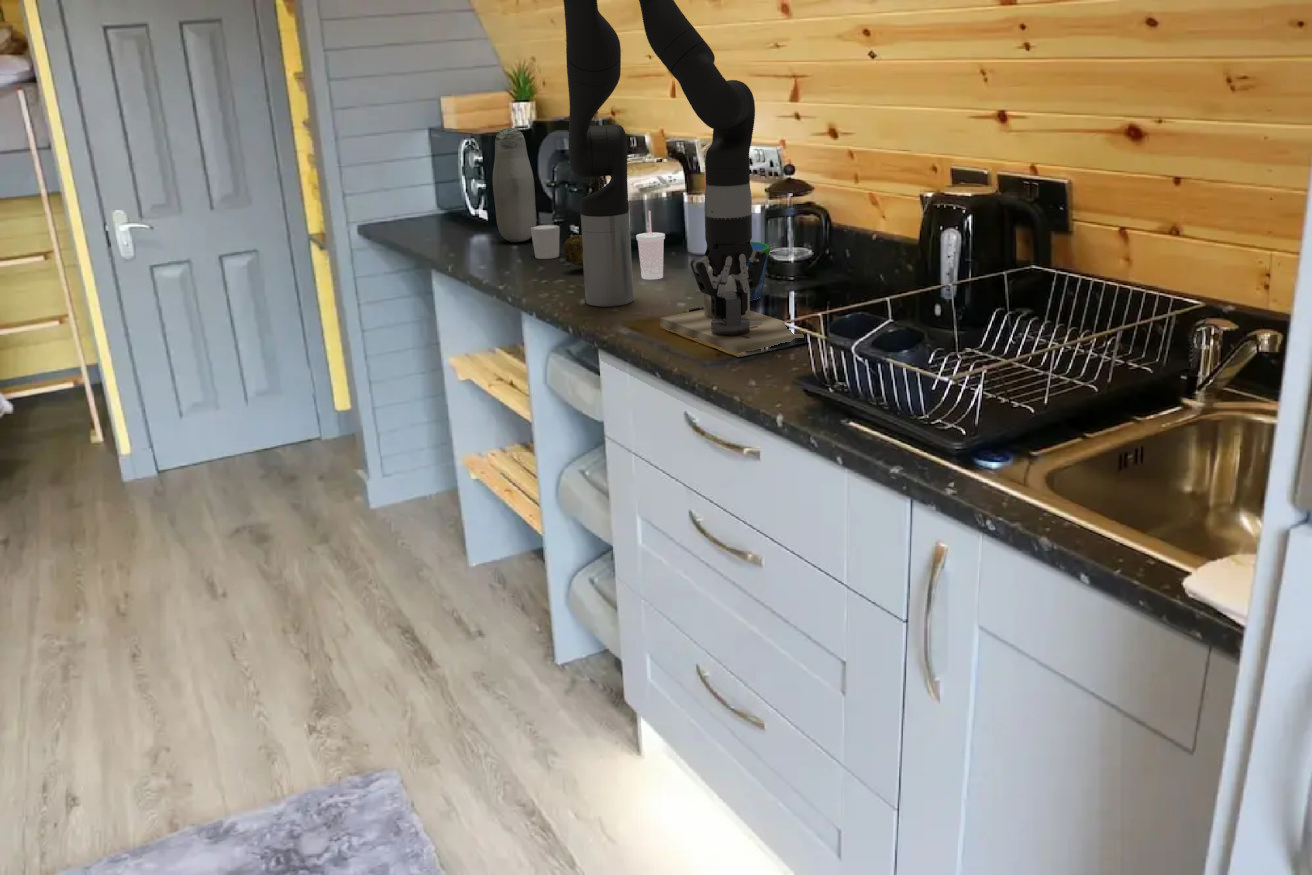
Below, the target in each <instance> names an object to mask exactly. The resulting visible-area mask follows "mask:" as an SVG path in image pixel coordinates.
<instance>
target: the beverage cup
mask: <svg viewBox="0 0 1312 875" xmlns="http://www.w3.org/2000/svg"><path fill="white" fill-rule="evenodd" d="M635 238H636V241H637V246H638V256H639V264H640V274H641V279H643V280H659V279H662V278H664V251H665V250H664V240H665V239H666V234H665V233H664V232H653V231H652V211H651V210H648V232H643V233H638V234H636V235H635Z"/></svg>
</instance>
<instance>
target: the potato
mask: <svg viewBox="0 0 1312 875" xmlns="http://www.w3.org/2000/svg"><path fill="white" fill-rule="evenodd" d="M564 241H565V242H564V243H563V252H564V255H565V261H566V262H568V263H569V262H570V263H572V264H573V265H575V266H578V267H583V242H582V234H575V235H572V236H571V237H568V238H567V239H565V240H564Z"/></svg>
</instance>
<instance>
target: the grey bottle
mask: <svg viewBox="0 0 1312 875" xmlns="http://www.w3.org/2000/svg"><path fill="white" fill-rule="evenodd" d="M495 136H496V137H495V141H494V163H493V170H492V188H493V189H492V190H493V198H494V200H493V201H494V207H495V216H496V225H497V228H498V229H497V230H498V231H499V233H500V235H501V236H502V238H503V239H505V240H506V241H508V242H510V243H521V242H523V243H524V242H526V241H528V240H530V239H531V238H532V235H531V229H530V228H531V227H534V226H537V208H536V207H537V205H536V192H535V178H534V173H533V169H532V166H531V162H530V159H529V156H528V155H529V154H528V150H527V144H526V139H525V137H524V134H523V133H522V132H521V131H520V130H519V129H518V128H513V127H511V128H510V127H509V128H502V129H500V131H499V132H497V134H496V135H495Z"/></svg>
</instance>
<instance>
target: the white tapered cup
mask: <svg viewBox="0 0 1312 875" xmlns="http://www.w3.org/2000/svg"><path fill="white" fill-rule="evenodd" d="M530 229H531V235H532V237H531V238H532V246H533V251H534V256H535V258H536V259H539V260H549V259H550V260H551V259H555V258H559V257H560V225H556V224H540V225H536V226H534V227H531V228H530Z"/></svg>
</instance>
